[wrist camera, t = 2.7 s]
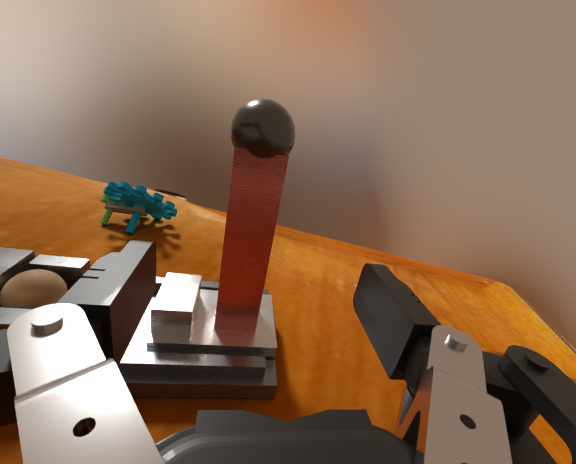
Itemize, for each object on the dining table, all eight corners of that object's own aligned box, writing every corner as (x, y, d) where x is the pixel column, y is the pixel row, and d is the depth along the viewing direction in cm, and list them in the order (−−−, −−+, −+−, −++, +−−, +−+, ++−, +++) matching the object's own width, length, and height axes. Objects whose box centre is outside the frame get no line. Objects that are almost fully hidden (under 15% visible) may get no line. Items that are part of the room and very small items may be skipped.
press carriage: (146, 351, 22) (144, 72, 14) (169, 295, 28) (176, 80, 21) (275, 356, 24) (333, 112, 16) (269, 302, 30) (309, 108, 23)
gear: (189, 215, 47) (157, 180, 38) (177, 249, 44) (140, 221, 35) (129, 207, 48) (84, 172, 39) (114, 239, 46) (64, 211, 37)
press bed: (-192, 393, 17) (-238, 329, 15) (-21, 278, 28) (-34, 232, 26) (274, 398, 22) (286, 351, 20) (265, 300, 33) (273, 263, 31)
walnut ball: (6, 340, 21) (-6, 295, 19) (4, 308, 23) (-7, 266, 22) (74, 321, 24) (68, 280, 22) (65, 294, 26) (60, 255, 24)
